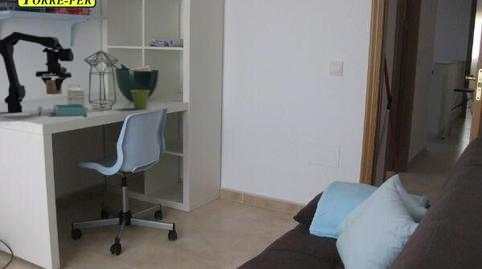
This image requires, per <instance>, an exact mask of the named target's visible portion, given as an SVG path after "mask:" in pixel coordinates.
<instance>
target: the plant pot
mask: <svg viewBox="0 0 482 269" xmlns="http://www.w3.org/2000/svg"><path fill="white" fill-rule="evenodd" d="M130 92H131V97H132V100H133V107H134V109H135V110H145V109H147V106H148V100H149V94H150V90H148V89H132V90H130Z"/></svg>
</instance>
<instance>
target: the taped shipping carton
mask: <svg viewBox="0 0 482 269" xmlns="http://www.w3.org/2000/svg"><path fill="white" fill-rule="evenodd" d="M62 86H63V84H62V85H61V89H60V91H58V90H57V86H56V81H55V79H51V80H47V81H46V85H45V88H46V89H45V90H46V95H60V94H63V89H62V88H63V87H62Z"/></svg>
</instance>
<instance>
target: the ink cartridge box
mask: <svg viewBox="0 0 482 269" xmlns="http://www.w3.org/2000/svg"><path fill="white" fill-rule="evenodd" d="M71 104H82V105H84V106H85V89H82V88H81V84H80V83H71V84H70V83H68V84H67V105H71Z"/></svg>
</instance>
